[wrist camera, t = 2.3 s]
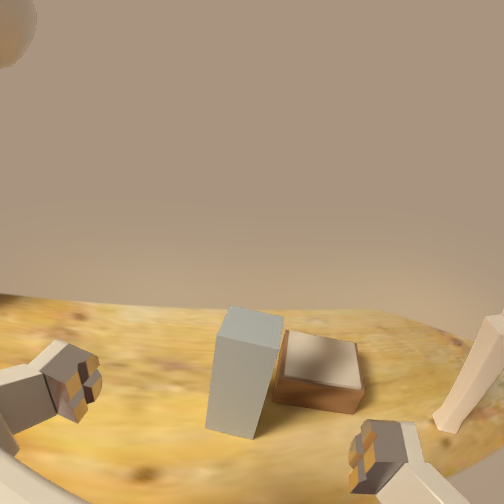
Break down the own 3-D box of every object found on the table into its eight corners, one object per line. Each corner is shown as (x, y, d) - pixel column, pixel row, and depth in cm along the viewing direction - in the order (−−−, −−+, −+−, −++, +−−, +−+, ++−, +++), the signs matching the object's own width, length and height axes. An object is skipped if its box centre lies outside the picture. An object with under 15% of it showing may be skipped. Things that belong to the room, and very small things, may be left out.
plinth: (271, 401, 28) (279, 376, 27) (279, 351, 35) (286, 327, 34) (353, 414, 27) (365, 390, 26) (347, 363, 35) (357, 341, 33)
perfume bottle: (434, 401, 29) (496, 282, 24) (464, 416, 27) (532, 299, 21) (423, 425, 26) (497, 296, 20) (456, 441, 23) (537, 316, 18)
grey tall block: (204, 428, 24) (216, 335, 20) (216, 396, 27) (230, 305, 24) (252, 439, 23) (279, 349, 20) (259, 406, 27) (284, 317, 23)
